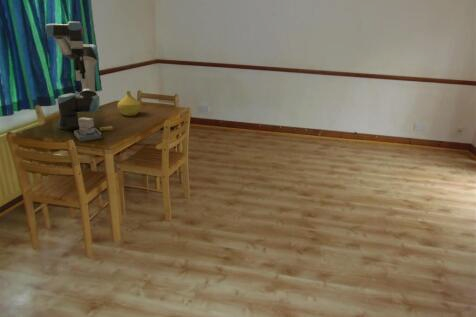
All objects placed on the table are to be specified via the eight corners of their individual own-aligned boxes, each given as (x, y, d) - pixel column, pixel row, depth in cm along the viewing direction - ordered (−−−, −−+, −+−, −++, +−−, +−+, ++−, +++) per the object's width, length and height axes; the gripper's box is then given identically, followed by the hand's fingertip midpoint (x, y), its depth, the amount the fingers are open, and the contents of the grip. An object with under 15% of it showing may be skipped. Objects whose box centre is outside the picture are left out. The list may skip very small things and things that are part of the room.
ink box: (95, 135, 245) (93, 118, 241) (90, 137, 240) (88, 120, 236) (84, 133, 247) (82, 116, 243) (79, 135, 243) (77, 118, 239)
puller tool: (101, 131, 257) (100, 128, 256) (99, 129, 259) (99, 127, 259) (112, 129, 261) (112, 127, 261) (111, 128, 264) (111, 126, 263)
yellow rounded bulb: (140, 111, 313) (139, 88, 306) (142, 116, 297) (141, 93, 290) (118, 112, 307) (116, 89, 300) (118, 117, 291) (116, 93, 284)
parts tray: (74, 134, 246) (73, 130, 245) (95, 132, 254) (95, 127, 253) (80, 141, 234) (79, 137, 233) (102, 138, 242) (102, 133, 240)
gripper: (66, 46, 237) (70, 79, 245) (75, 49, 218) (79, 85, 226) (78, 46, 241) (82, 78, 249) (88, 49, 222) (92, 84, 230)
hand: (81, 82), depth 237 cm, fingers open, 13 cm apart
